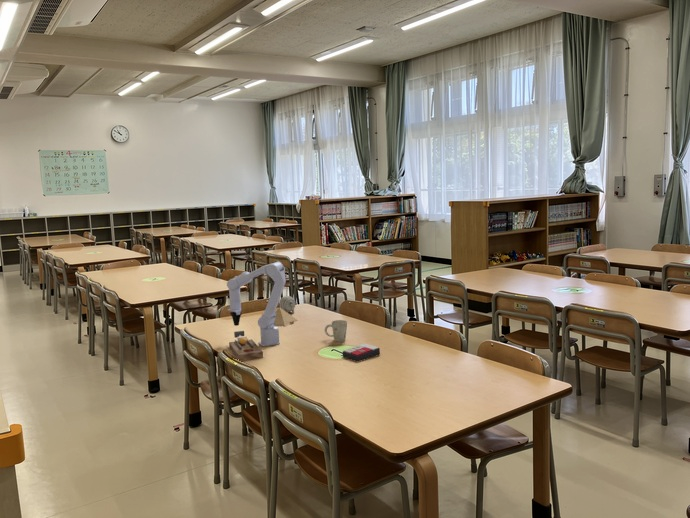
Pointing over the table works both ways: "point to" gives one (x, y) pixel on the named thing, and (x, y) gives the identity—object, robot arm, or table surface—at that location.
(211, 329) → the table surface
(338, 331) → the mug
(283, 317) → the model pyramid
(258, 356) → the launcher base
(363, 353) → the flat black red box
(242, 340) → the ball
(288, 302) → the toy sheep
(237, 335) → the grey block
